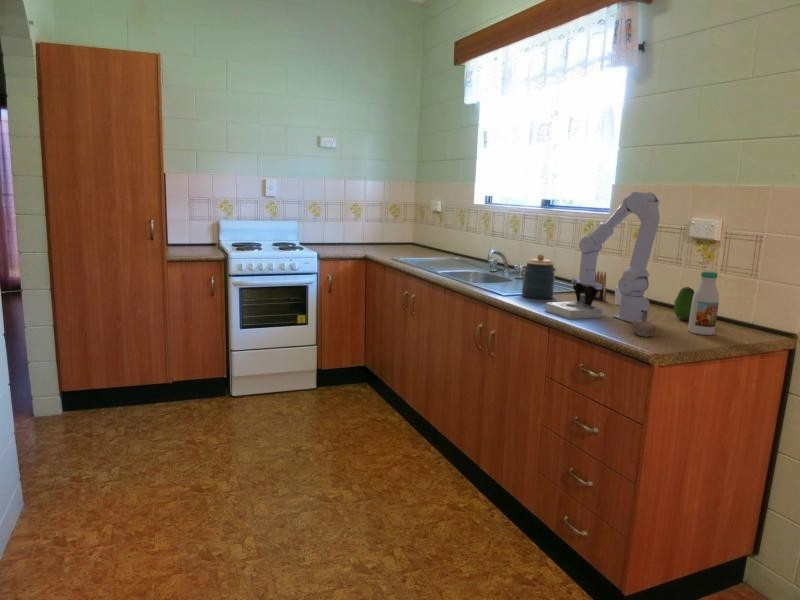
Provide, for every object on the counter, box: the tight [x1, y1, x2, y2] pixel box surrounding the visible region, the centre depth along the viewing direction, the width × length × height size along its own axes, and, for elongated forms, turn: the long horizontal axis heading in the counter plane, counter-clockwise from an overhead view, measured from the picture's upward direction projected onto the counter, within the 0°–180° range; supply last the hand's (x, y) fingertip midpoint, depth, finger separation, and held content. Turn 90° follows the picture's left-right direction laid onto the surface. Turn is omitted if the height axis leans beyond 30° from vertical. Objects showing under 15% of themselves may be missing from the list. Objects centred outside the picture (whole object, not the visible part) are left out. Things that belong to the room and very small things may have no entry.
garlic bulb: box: [631, 310, 656, 338], centre depth 185 cm, size 8×7×8 cm
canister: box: [521, 253, 557, 300], centre depth 243 cm, size 13×13×18 cm
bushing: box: [579, 292, 586, 304], centre depth 222 cm, size 4×4×6 cm
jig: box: [544, 300, 603, 320], centre depth 212 cm, size 14×14×3 cm
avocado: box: [673, 286, 695, 321], centre depth 209 cm, size 8×8×12 cm
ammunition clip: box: [586, 270, 607, 302], centre depth 244 cm, size 11×2×12 cm, turn 29°
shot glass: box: [614, 285, 621, 306], centre depth 234 cm, size 7×7×7 cm
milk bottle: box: [687, 270, 720, 336], centre depth 189 cm, size 8×8×20 cm
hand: (584, 304), depth 223 cm, fingers closed on bushing, 4 cm apart
